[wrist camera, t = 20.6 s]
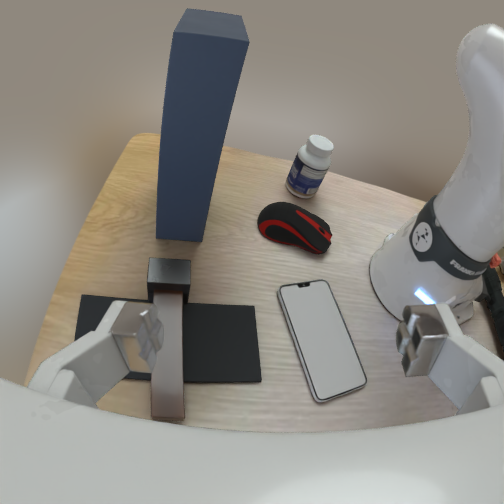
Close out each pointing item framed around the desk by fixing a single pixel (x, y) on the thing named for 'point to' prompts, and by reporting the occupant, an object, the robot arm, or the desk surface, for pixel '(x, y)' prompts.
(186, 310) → the mat
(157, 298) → the walnut bar
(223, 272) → the desk surface
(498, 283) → the flashlight
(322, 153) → the pill bottle
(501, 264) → the toy character
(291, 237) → the computer mouse
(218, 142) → the stand
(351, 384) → the smartphone
